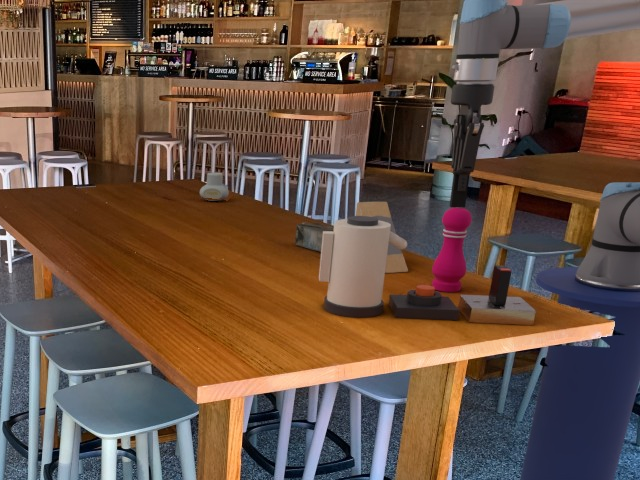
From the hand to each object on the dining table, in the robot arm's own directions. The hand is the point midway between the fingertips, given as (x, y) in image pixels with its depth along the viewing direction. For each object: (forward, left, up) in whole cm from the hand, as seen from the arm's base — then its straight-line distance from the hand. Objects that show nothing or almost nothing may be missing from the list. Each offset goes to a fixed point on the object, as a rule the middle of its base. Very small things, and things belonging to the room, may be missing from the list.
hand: (457, 206), depth 161 cm
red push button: (+5, +6, -17) cm, 19 cm away
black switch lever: (-9, +7, -18) cm, 21 cm away
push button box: (+5, +6, -21) cm, 22 cm away
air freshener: (+55, -133, -21) cm, 146 cm away
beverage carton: (+20, -51, -21) cm, 59 cm away
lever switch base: (-9, +7, -21) cm, 24 cm away
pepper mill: (-4, -14, -21) cm, 26 cm away
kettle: (+19, +6, -21) cm, 29 cm away
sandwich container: (+8, -35, -21) cm, 42 cm away
